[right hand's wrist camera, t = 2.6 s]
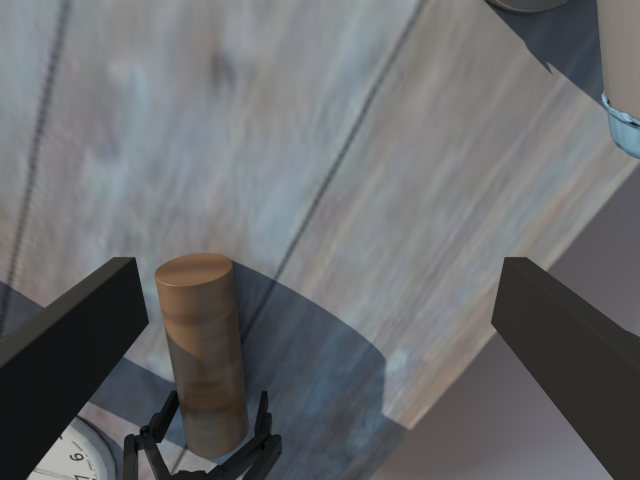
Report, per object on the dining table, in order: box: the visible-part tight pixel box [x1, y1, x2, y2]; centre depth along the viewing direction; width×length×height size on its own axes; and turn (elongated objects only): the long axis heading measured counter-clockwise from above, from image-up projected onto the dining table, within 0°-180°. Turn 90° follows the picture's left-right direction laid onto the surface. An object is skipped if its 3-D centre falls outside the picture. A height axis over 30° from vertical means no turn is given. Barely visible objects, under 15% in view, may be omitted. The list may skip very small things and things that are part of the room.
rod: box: [155, 253, 249, 458], centre depth 47 cm, size 27×9×9 cm, turn 0°
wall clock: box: [26, 417, 116, 480], centre depth 60 cm, size 30×2×30 cm
